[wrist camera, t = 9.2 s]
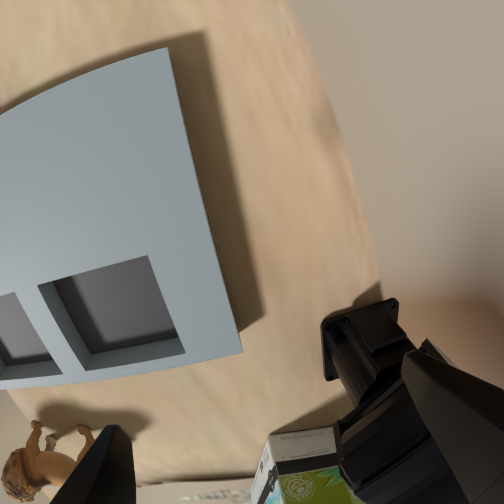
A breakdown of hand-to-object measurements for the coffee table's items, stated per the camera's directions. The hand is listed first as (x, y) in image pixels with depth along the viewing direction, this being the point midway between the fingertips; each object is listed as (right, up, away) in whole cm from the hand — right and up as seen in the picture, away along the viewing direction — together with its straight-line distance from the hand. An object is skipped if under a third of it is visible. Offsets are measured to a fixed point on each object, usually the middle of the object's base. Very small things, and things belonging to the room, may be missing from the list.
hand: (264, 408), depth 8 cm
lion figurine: (-19, -14, +16) cm, 29 cm away
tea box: (+5, -20, +23) cm, 31 cm away
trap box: (-15, +4, +9) cm, 17 cm away
